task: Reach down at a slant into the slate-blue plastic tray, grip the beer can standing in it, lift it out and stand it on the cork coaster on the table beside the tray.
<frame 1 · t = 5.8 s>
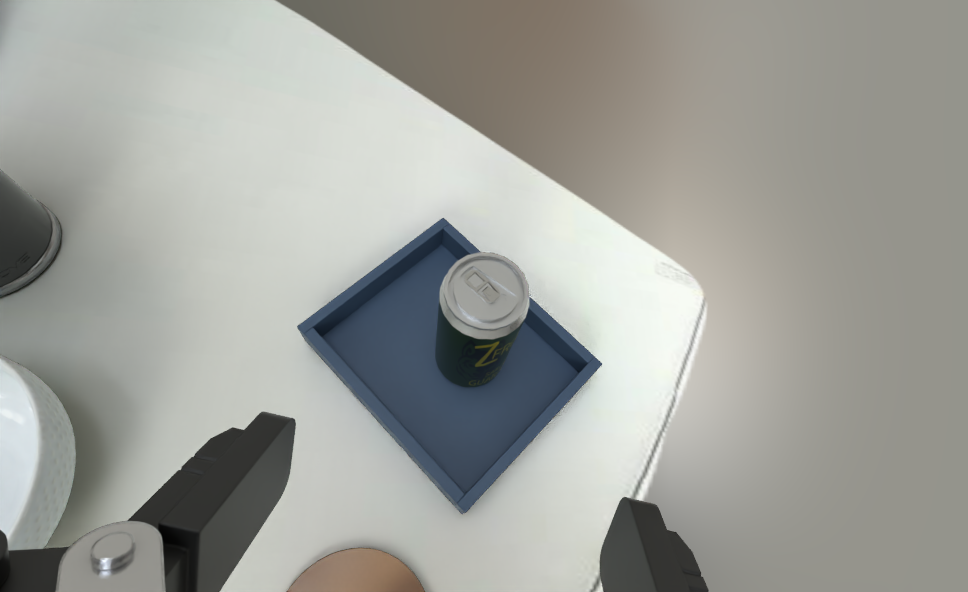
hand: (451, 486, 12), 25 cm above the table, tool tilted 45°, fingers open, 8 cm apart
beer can: (468, 357, 39), resting on tray
tray: (450, 357, 39), on the table
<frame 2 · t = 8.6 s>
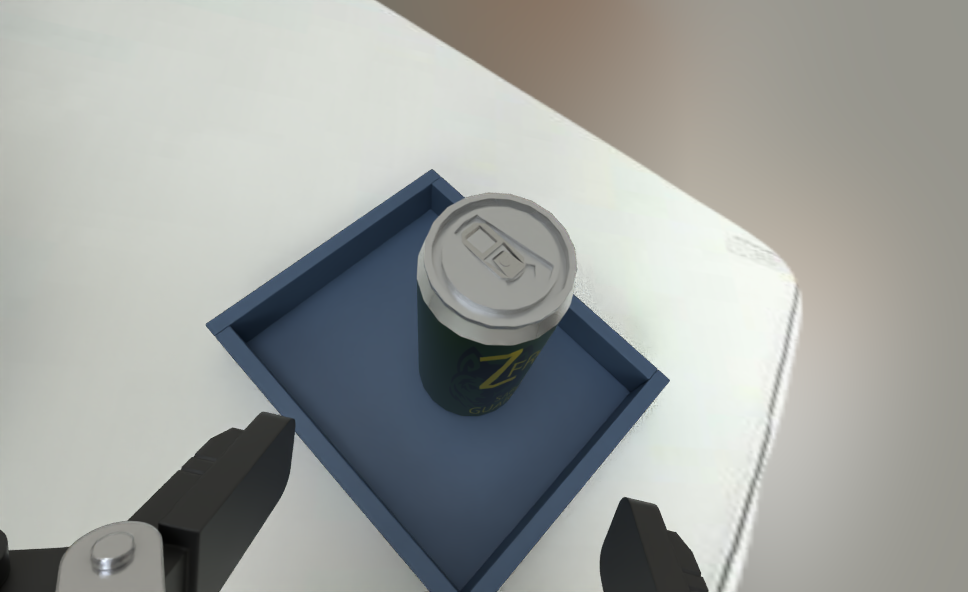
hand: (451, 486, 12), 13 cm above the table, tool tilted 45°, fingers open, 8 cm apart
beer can: (468, 370, 26), resting on tray
tray: (442, 370, 26), on the table
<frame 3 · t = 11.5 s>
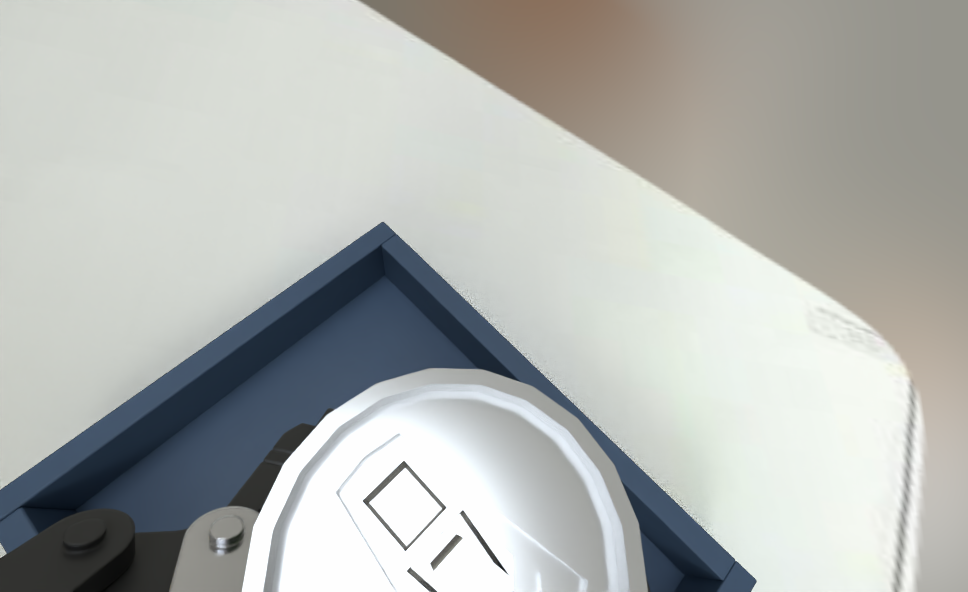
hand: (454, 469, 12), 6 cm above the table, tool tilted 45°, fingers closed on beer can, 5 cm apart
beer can: (433, 543, 17), resting on tray, touching gripper
tray: (392, 543, 17), on the table
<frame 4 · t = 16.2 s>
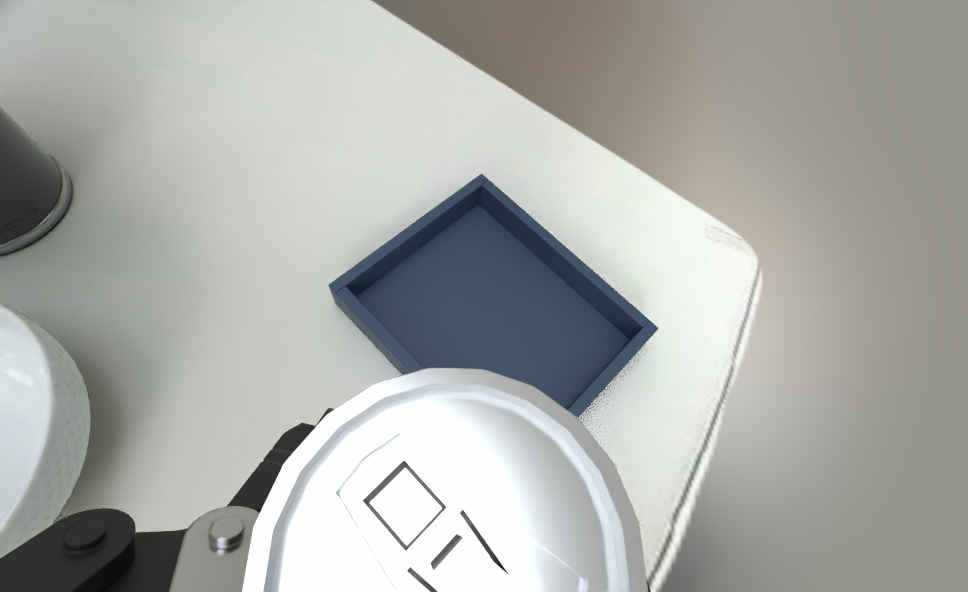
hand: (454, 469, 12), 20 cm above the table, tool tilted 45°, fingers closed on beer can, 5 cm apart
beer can: (433, 542, 17), point 14 cm above the table, touching gripper
tray: (491, 322, 36), on the table
when the fingers open (6 cm above the table, at t = 21.0 s): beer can stays where it is, resting on coaster.
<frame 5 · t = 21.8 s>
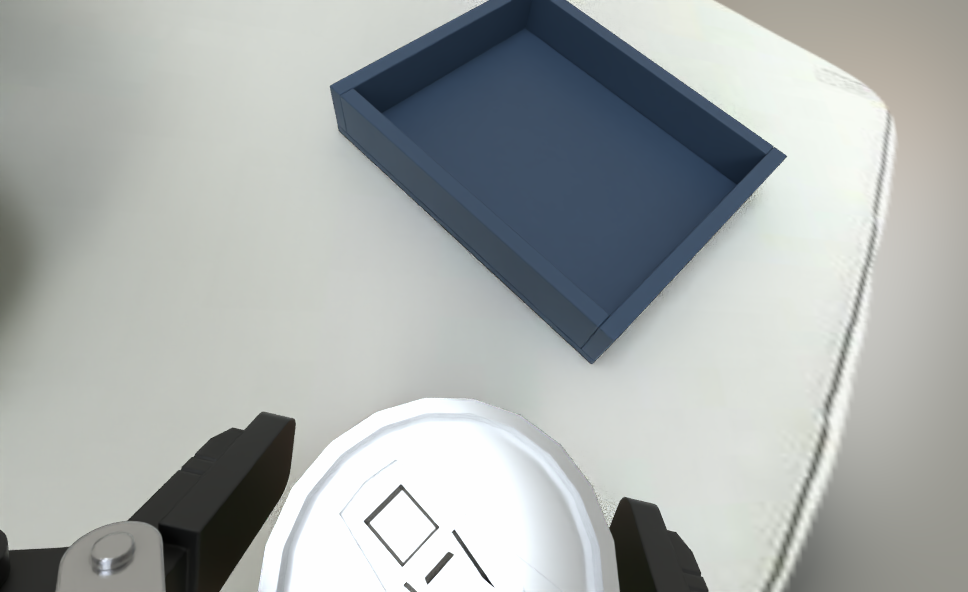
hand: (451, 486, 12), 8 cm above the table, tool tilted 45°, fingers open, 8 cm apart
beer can: (431, 549, 18), resting on coaster
tray: (551, 162, 26), on the table
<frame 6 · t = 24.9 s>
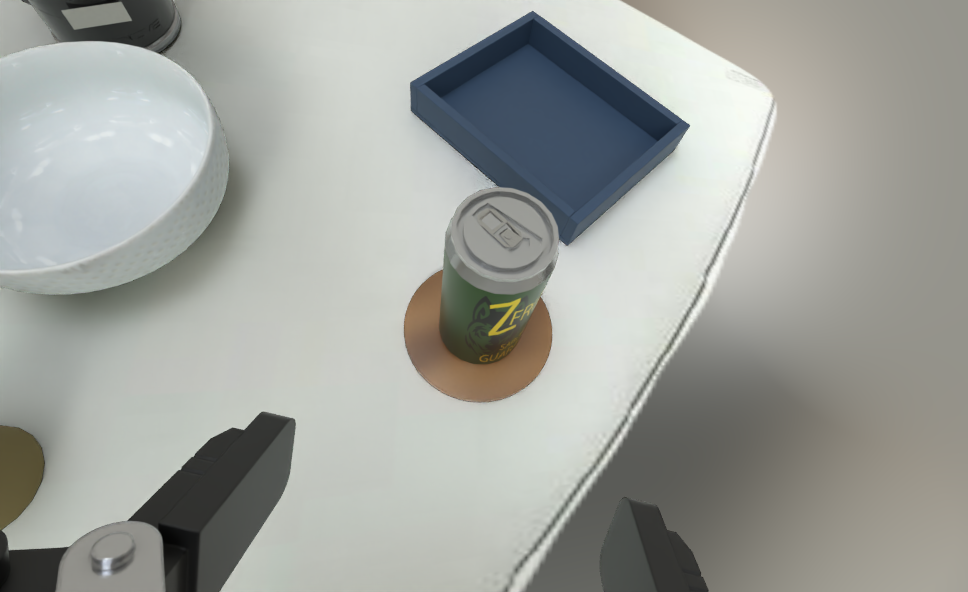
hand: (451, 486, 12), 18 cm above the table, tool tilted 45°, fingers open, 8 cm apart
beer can: (478, 330, 33), resting on coaster
cereal bowl: (126, 213, 34), on the table
coaster: (478, 329, 33), on the table
tray: (544, 130, 42), on the table
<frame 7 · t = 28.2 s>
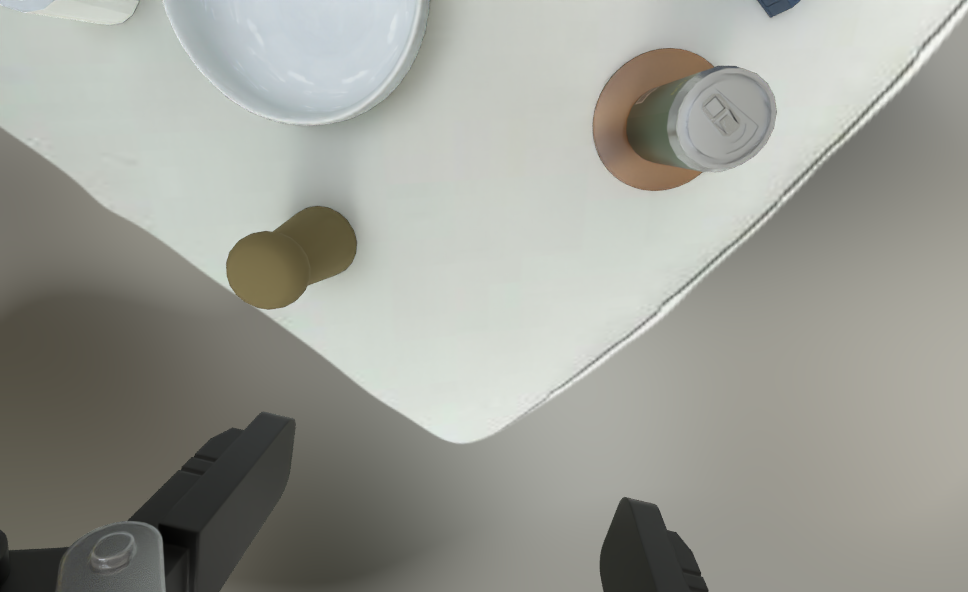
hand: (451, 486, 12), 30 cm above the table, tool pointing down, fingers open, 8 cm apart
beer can: (660, 125, 37), resting on coaster
cereal bowl: (329, 5, 36), on the table
coaster: (660, 122, 37), on the table
pepper shaker: (322, 241, 42), on the table
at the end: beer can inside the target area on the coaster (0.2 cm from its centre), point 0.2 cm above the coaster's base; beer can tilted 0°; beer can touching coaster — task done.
